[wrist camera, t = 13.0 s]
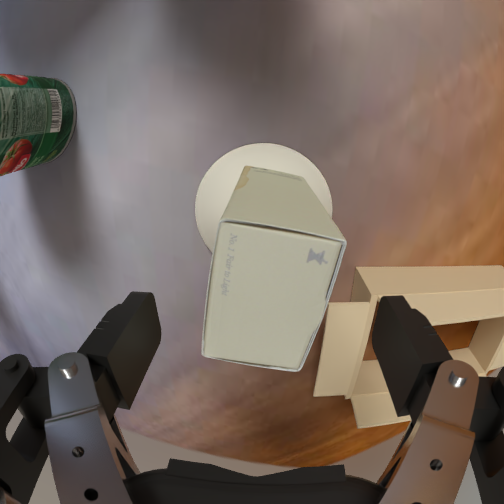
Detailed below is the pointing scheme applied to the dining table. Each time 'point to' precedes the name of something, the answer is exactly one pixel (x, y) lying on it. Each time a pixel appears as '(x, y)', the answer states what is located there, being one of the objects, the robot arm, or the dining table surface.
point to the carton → (425, 301)
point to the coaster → (228, 173)
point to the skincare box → (270, 272)
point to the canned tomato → (33, 120)
